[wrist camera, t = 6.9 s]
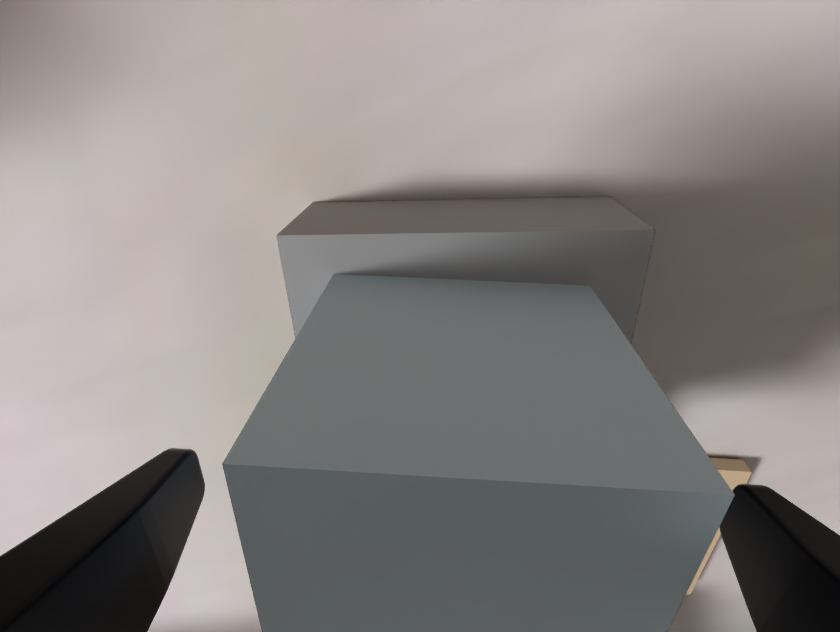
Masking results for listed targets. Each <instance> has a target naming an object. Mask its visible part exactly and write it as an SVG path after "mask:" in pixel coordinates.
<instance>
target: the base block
mask: <svg viewBox="0 0 840 632" xmlns="http://www.w3.org/2000/svg"><path fill="white" fill-rule="evenodd" d="M654 233H655V229H654V228H652V227H651V226H650V225H648V224H647V223H646V222H644V221H643V220H641V219H640V218H639V217H637V216H636V215H635V214H633V213H632V212H630V211H629V210H628V209H626V208H625V207H624V206H622V205H621V204H620V203H618V202H617V201H615V200H614V199H613V198H611V197H610V196H597V197H548V198H499V199H450V200H402V201H353V202H313V203H312V204H310V205H309V206H308V207H307V208H306V209H305V210H304V211H303V212H302V213H301V214H299V215H298V216H297V217H296V218H295V219H294V220H293V221H292V222H291V223H290V224H289V225H287V226H286V227H285V228H284V229H283V230H282V231H281V232H280V233H279V234H278V235H276V236H277V242H278V247H279V252H280V258H281V263H282V269H283V274H284V279H285V285H286V290H287V296H288V301H289V307H290V312H291V317H292V323H293V328H294V334H295V339H296V337H297V335H298V334H299V332H300V330H301V329H302V327H303V325H304V323H305V322H306V320H307V318H308V317H309V315H310V313H311V312H312V310H313V308H314V306H315V305H316V303H317V301H318V300H319V298H320V296H321V294H322V293H323V291H324V289H325V288H326V286H327V284H328V282H329V281H330V279H331V277H332V276H333V274H346V275H368V276H390V277H412V278H434V279H456V280H478V281H500V282H521V283H543V284H565V285H586V286H591V288H592V289H593V291H594V292H595V293H596V295H597V296H598V298H599V299H600V301H601V302H602V304H603V305H604V306H605V308H606V309H607V311H608V312H609V314H610V315H611V317H612V318H613V319H614V321H615V322H616V324H617V325H618V327H619V328H620V330H621V331H622V332H623V334H624V335H625V337H626V338H627V340H628V341H629V343H630V344H631V343H632V338H633V333H634V328H635V324H636V319H637V314H638V309H639V305H640V300H641V295H642V290H643V286H644V281H645V276H646V271H647V267H648V262H649V257H650V252H651V247H652V243H653V238H654Z"/></svg>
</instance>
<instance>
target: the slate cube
mask: <svg viewBox="0 0 840 632" xmlns="http://www.w3.org/2000/svg"><path fill="white" fill-rule="evenodd" d="M222 465H223V469H224V473H225V477H226V481H227V486H228V490H229V494H230V498H231V503H232V507H233V511H234V515H235V519H236V524H237V528H238V532H239V536H240V540H241V545H242V549H243V553H244V557H245V562H246V566H247V570H248V574H249V578H250V583H251V587H252V591H253V595H254V600H255V604H256V608H257V612H258V616H259V621H260V625H261V629H262V632H668V630H669V628H670V626H671V624H672V622H673V620H674V618H675V616H676V614H677V612H678V610H679V607H680V605H681V603H682V601H683V599H684V597H685V595H686V593H687V591H688V589H689V587H690V585H691V583H692V581H693V579H694V577H695V575H696V573H697V571H698V569H699V567H700V565H701V563H702V561H703V559H704V557H705V555H706V553H707V551H708V549H709V546H710V544H711V542H712V540H713V538H714V536H715V534H716V532H717V530H718V528H719V526H720V524H721V522H722V520H723V518H724V516H725V514H726V512H727V510H728V508H729V506H730V504H731V502H732V500H733V498H734V496H735V494H734V493H733V491H732V490H731V489H730V487H729V486H728V484H727V483H726V481H725V480H724V478H723V477H722V476H721V474H720V473H719V471H718V470H717V468H716V467H715V465H714V464H713V463H712V461H711V460H710V458H709V457H708V455H707V454H706V452H705V451H704V450H703V448H702V447H701V445H700V444H699V442H698V441H697V439H696V438H695V437H694V435H693V434H692V432H691V431H690V429H689V428H688V426H687V425H686V423H685V422H684V421H683V419H682V418H681V416H680V415H679V413H678V412H677V410H676V409H675V408H674V406H673V405H672V403H671V402H670V400H669V399H668V397H667V396H666V395H665V393H664V392H663V390H662V389H661V387H660V386H659V384H658V383H657V382H656V380H655V379H654V377H653V376H652V374H651V373H650V371H649V370H648V369H647V367H646V366H645V364H644V363H643V361H642V360H641V358H640V357H639V356H638V354H637V353H636V351H635V350H634V348H633V347H632V345H631V344H630V343H629V341H628V340H627V338H626V337H625V335H624V334H623V332H622V331H621V330H620V328H619V327H618V325H617V324H616V322H615V321H614V319H613V318H612V317H611V315H610V314H609V312H608V311H607V309H606V308H605V306H604V305H603V304H602V302H601V301H600V299H599V298H598V296H597V295H596V293H595V292H594V291H593V289H592V288H591V286H586V285H565V284H543V283H521V282H500V281H478V280H456V279H434V278H412V277H390V276H368V275H346V274H333V276H332V277H331V279H330V281H329V282H328V284H327V286H326V288H325V289H324V291H323V293H322V294H321V296H320V298H319V300H318V301H317V303H316V305H315V306H314V308H313V310H312V312H311V313H310V315H309V317H308V318H307V320H306V322H305V323H304V325H303V327H302V329H301V330H300V332H299V334H298V335H297V337H296V339H295V341H294V342H293V344H292V346H291V347H290V349H289V351H288V353H287V354H286V356H285V358H284V359H283V361H282V363H281V364H280V366H279V368H278V370H277V371H276V373H275V375H274V376H273V378H272V380H271V382H270V383H269V385H268V387H267V388H266V390H265V392H264V394H263V395H262V397H261V399H260V400H259V402H258V404H257V405H256V407H255V409H254V411H253V412H252V414H251V416H250V417H249V419H248V421H247V423H246V424H245V426H244V428H243V429H242V431H241V433H240V435H239V436H238V438H237V440H236V441H235V443H234V445H233V447H232V448H231V450H230V452H229V453H228V455H227V457H226V458H225V460H224V462H223V464H222Z"/></svg>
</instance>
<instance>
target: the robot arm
mask: <svg viewBox="0 0 840 632" xmlns="http://www.w3.org/2000/svg"><path fill="white" fill-rule="evenodd" d="M204 491H205V483H204V479H203V475H202V471H201V468H200V464H199V460H198V456H197V454H196V452H195V451H194V450H191V449H177V448H171V449H168V450H166V451H164V452H162V453H161V454H159V455H157V456H156V457H154V458H153V459H151V460H150V461H148V462H147V463H145V464H143V465H142V466H140V467H139V468H137V469H136V470H134V471H132V472H131V473H129V474H128V475H126V476H125V477H123V478H122V479H120V480H118V481H117V482H115V483H114V484H112V485H111V486H109V487H108V488H106V489H104V490H103V491H101V492H100V493H98V494H97V495H95V496H93V497H92V498H90V499H89V500H87V501H86V502H84V503H83V504H81V505H79V506H78V507H76V508H75V509H73V510H72V511H70V512H68V513H67V514H65V515H64V516H62V517H61V518H59V519H58V520H56V521H54V522H53V523H51V524H50V525H48V526H47V527H45V528H43V529H42V530H40V531H39V532H37V533H36V534H34V535H33V536H31V537H29V538H28V539H26V540H25V541H23V542H22V543H20V544H19V545H17V546H15V547H14V548H12V549H11V550H9V551H8V552H6V553H4V554H3V555H1V556H0V632H147V631H148V629H149V627H150V625H151V623H152V621H153V619H154V617H155V615H156V613H157V611H158V609H159V607H160V605H161V602H162V600H163V598H164V596H165V594H166V592H167V590H168V587H169V585H170V582H171V580H172V578H173V575H174V573H175V570H176V567H177V565H178V562H179V560H180V557H181V554H182V552H183V549H184V546H185V544H186V541H187V539H188V536H189V533H190V531H191V528H192V525H193V523H194V520H195V518H196V515H197V512H198V510H199V507H200V504H201V502H202V499H203V496H204ZM733 493H734V494H735V496H734V498H733V500H732V502H731V504H730V506H729V508H728V510H727V512H726V514H725V516H724V518H723V520H722V522H721V524H720V526H719V528H720V533H721V536H722V539H723V541H724V544H725V547H726V550H727V552H728V555H729V558H730V561H731V563H732V566H733V569H734V572H735V574H736V577H737V580H738V583H739V585H740V588H741V591H742V594H743V596H744V599H745V602H746V605H747V607H748V610H749V613H750V615H751V618H752V621H753V623H754V626H755V628H756V631H757V632H840V535H838V534H837V533H835V532H834V531H832V530H831V529H829V528H828V527H827V526H825V525H824V524H822V523H821V522H819V521H818V520H816V519H815V518H813V517H812V516H810V515H809V514H807V513H806V512H804V511H803V510H802V509H800V508H799V507H797V506H796V505H794V504H793V503H791V502H790V501H788V500H787V499H785V498H784V497H782V496H781V495H780V494H778V493H777V492H775V491H774V490H772V489H770V488H769V487H766V486H763V485H751V484H739V485H737V486H736V487H735V488H734V489H733Z"/></svg>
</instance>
